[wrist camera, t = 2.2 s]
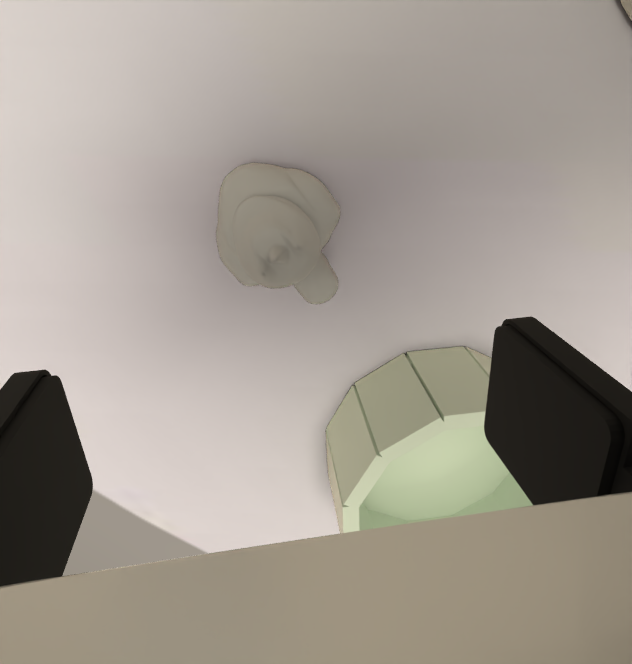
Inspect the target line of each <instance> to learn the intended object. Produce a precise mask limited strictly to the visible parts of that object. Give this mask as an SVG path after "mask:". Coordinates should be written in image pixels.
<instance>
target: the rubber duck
mask: <svg viewBox="0 0 632 664" xmlns="http://www.w3.org/2000/svg"><path fill="white" fill-rule="evenodd" d="M339 219H340V208H339V205H338V204H337V202H336V201H335V199H334V198H333V196H332V195H331V194H330V192H329V191H328V190H327V188H326V187H325V186H324V184H323V183H322V182H321V181H320V180H318V179H317V178H315V177H314V176H312V175H310V174H309V173H307V172H304V171H302V170H299V169H294V168H282V167H279V166H275V165H270V164H263V163H249V164H243V165H240V166H238V167H237V168H235V169H234V170H233V171H232V172H230V173H229V174H228V175H227V176H226V177H225V179H224V180H223V182H222V185H221V189H220V194H219V206H218V225H217V229H216V239H217V246H218V251H219V255H220V258H221V260H222V262H223V264H224V265H225V266H226V267H227V268H228V269H229V271H230V272H231V273H232V274H233V275H234V276H235V277H236V278H237V280H238V281H239V282H241V283H242V284H243V285H245V286H257V285H262V286H264V287H267V288H271V289H275V288H284V287H288V286H291V285H293V284H294V286H295V288H296V289H297V290H298V292H299V293H300V294H301V295H302V297H303V298H304V299H305V300H306V301H307V302H309V303H311V304H321V303H324V302H326V301H328V300H330V299H331V298H332V297H333V296H334V294H335V293H336V291H337V289H338V278H337V276H336V274H335V272H334V271H333V269H332V268H331V266H330V264H329V262H328V261H327V259H326V257H325V256H324V254H323V253H322V252H321V250H322V248H323V247H324V246H325V245H326V244H327V242H328V241H329V239H330V237H331V234H332V232H333V230H334V228H335V227H336V225H337V223H338V221H339Z"/></svg>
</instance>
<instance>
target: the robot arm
mask: <svg viewBox="0 0 632 664" xmlns="http://www.w3.org/2000/svg"><path fill="white" fill-rule="evenodd" d="M621 3H622V6H623V7H624V9H625V11H626V12H627V14H628V16H629V17H630V19H631V21H632V0H621ZM484 432H485V436H486V439H487V441H488V443H489V444H490V445H491V447H492V448H493V450H494V451H495V452H496V454H497V455H498V457H499V458H500V459H501V461H502V462H503V464H504V465H505V466H506V468H507V469H508V471H509V472H510V473H511V475H512V476H513V478H514V479H515V480H516V482H517V483H518V485H519V486H520V487H521V489H522V490H523V492H524V493H525V494H526V496H527V497H528V499H529V500H530V501H531V503H532V504H533V505H532V506H525V507H518V508H511V509H504V510H497V511H490V512H483V513H476V514H470V515H463V516H456V517H449V518H442V519H436V520H429V521H422V522H415V523H408V524H401V525H395V526H388V527H381V528H374V529H368V530H361V531H354V532H347V533H341V534H334V535H327V536H321V537H314V538H308V539H301V540H294V541H288V542H281V543H275V544H268V545H262V546H255V547H248V548H242V549H235V550H229V551H222V552H215V553H209V554H202V555H196V556H189V557H184V558H176V559H170V560H164V561H158V562H152V563H145V564H138V565H132V566H125V567H119V568H112V569H106V570H99V571H93V572H86V573H80V574H74V575H67V576H62V575H63V572H64V569H65V566H66V564H67V561H68V558H69V556H70V553H71V550H72V547H73V544H74V542H75V539H76V536H77V533H78V531H79V528H80V525H81V523H82V520H83V517H84V514H85V512H86V509H87V506H88V503H89V501H90V498H91V495H92V489H93V482H92V477H91V473H90V470H89V467H88V464H87V461H86V457H85V454H84V451H83V448H82V445H81V442H80V439H79V435H78V432H77V429H76V426H75V423H74V420H73V417H72V413H71V410H70V407H69V404H68V401H67V398H66V395H65V391H64V388H63V385H62V382H61V380H60V378H59V377H58V376H51V374H50V373H49V372H48V371H47V370H38V371H29V372H19V373H14V374H13V375H12V376H11V377H10V378H9V379H8V381H7V382H6V383H5V384H4V386H3V387H2V388H1V389H0V664H632V392H631V391H630V390H629V389H627V388H626V387H625V386H623V385H622V384H621V383H619V382H618V381H617V380H615V379H614V378H613V377H611V376H610V375H609V374H608V373H606V372H605V371H604V370H602V369H601V368H600V367H598V366H597V365H596V364H594V363H593V362H592V361H590V360H589V359H588V358H587V357H585V356H584V355H583V354H581V353H580V352H579V351H577V350H576V349H575V348H573V347H572V346H571V345H569V344H568V343H567V342H565V341H564V340H563V339H562V338H560V337H559V336H558V335H556V334H555V333H554V332H552V331H551V330H550V329H548V328H547V327H546V326H544V325H543V324H542V323H541V322H539V321H538V320H537V319H535V318H533V317H523V318H514V319H506V320H505V321H504V322H503V324H502V326H499V327H497V328H496V330H495V334H494V342H493V351H492V359H491V368H490V377H489V386H488V394H487V403H486V412H485V420H484Z"/></svg>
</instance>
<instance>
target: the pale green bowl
mask: <svg viewBox="0 0 632 664" xmlns="http://www.w3.org/2000/svg"><path fill="white" fill-rule="evenodd" d="M491 359H492V358H490V357H488V356H486V355H483V354H481V353H479V352H477V351H474V350H472V349H470V348H468V347H465V348H464V347H463V346H460V347H450V348H441V349H431V350H421V351H411V352H407V355H406V356H405V354H404V353H403V354H401V355H400V356H398V357H396V358H395V359H393V360H391V361H390V362H388V363H386V364H385V365H383V366H382V367H380V368H378V369H377V370H375V371H373V372H372V373H370V374H368V375H367V376H365V377H364V378H362V379H360V380H359V381H357V382H355V386H354V385H352V387H351V388H350V390H349V392H348V393H347V395H346V396H345V398H344V400H343V401H342V403H341V405H340V406H339V408H338V410H337V411H336V413H335V415H334V416H333V418H332V420H331V421H330V423H329V424H328V426H327V428H326V429H327V430H326V447H327V466H328V476H329V481H330V486H331V491H332V496H333V501H334V506H335V511H336V516H337V521H338V526H339V531H340V534H341V533H347V532H354V531H361V530H368V529H374V528H381V527H388V526H395V525H401V524H408V523H415V522H422V521H429V520H436V519H442V518H449V517H456V516H463V515H470V514H476V513H483V512H490V511H497V510H504V509H511V508H518V507H525V506H532V505H533V504H532V503H531V501H530V500H529V499H528V497H527V496H526V494H525V493H524V492H523V490H522V489H521V487H520V486H519V485H518V483H517V482H516V480H515V479H514V478H513V476H512V475H511V473H510V472H509V471H508V469H507V468H506V466H505V465H504V464H503V462H502V461H501V459H500V458H499V457H498V455H497V454H496V452H495V451H494V450H493V448H492V447H491V445H490V444H489V443H488V441H487V439H486V436H485V432H484V420H485V412H486V403H487V394H488V386H489V377H490V368H491Z"/></svg>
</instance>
